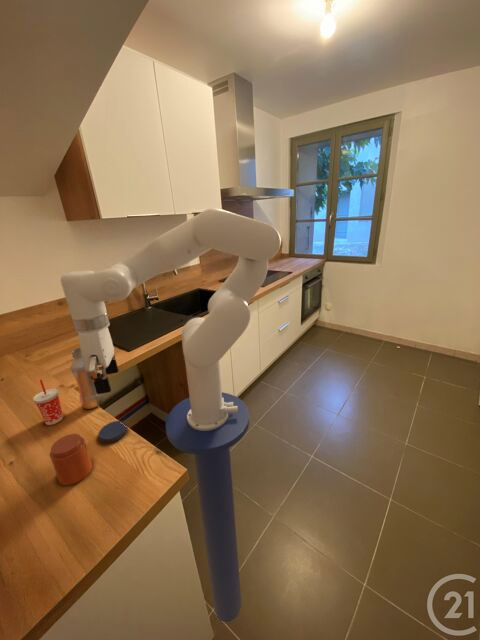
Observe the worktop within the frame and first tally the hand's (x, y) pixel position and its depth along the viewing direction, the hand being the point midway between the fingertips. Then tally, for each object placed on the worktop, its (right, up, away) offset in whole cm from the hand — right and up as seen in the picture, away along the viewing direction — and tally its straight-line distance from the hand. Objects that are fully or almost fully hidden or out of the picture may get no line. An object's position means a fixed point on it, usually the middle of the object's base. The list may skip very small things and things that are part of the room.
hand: (108, 382), depth 70 cm
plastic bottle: (-13, -12, +16) cm, 24 cm away
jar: (-4, -20, -8) cm, 21 cm away
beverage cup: (-22, -14, +10) cm, 28 cm away
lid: (0, -14, +3) cm, 15 cm away
